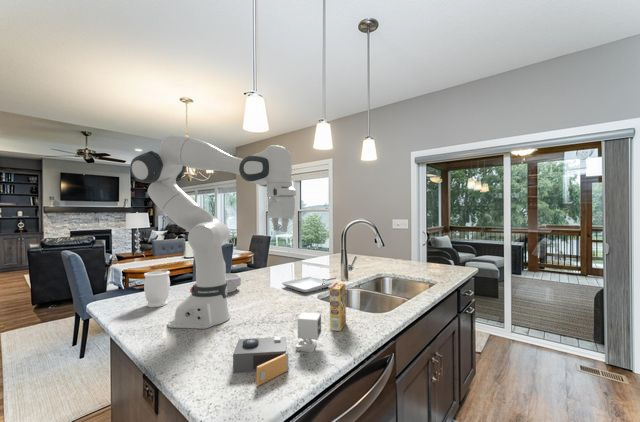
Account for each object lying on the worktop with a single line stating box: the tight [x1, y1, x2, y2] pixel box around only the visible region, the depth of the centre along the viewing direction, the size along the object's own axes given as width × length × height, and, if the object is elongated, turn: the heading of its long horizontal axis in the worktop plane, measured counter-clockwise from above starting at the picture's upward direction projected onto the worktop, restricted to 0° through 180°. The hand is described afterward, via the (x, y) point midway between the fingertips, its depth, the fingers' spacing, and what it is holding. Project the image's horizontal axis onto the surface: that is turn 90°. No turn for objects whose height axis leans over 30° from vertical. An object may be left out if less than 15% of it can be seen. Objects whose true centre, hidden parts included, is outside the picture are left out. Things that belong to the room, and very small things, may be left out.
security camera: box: [295, 312, 322, 353], centre depth 91 cm, size 6×7×10 cm
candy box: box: [329, 282, 347, 332], centre depth 107 cm, size 9×4×15 cm, turn 162°
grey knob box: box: [232, 336, 287, 374], centre depth 82 cm, size 14×9×6 cm, turn 96°
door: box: [256, 351, 289, 387], centre depth 75 cm, size 10×2×5 cm, turn 136°
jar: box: [143, 270, 171, 308], centre depth 134 cm, size 11×10×15 cm
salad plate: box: [281, 276, 334, 294], centre depth 162 cm, size 21×21×3 cm
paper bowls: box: [226, 273, 242, 294], centre depth 157 cm, size 15×15×8 cm
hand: (280, 231), depth 102 cm, fingers open, 8 cm apart
